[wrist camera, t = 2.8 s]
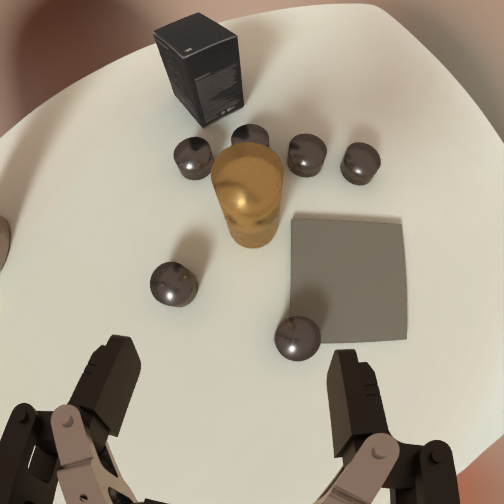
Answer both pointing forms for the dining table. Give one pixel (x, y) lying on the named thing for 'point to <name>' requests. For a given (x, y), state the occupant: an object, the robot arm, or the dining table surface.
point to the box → (202, 66)
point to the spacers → (300, 163)
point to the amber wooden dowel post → (249, 191)
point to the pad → (349, 279)
